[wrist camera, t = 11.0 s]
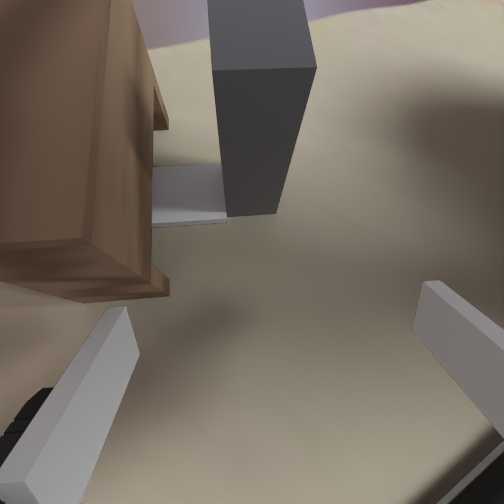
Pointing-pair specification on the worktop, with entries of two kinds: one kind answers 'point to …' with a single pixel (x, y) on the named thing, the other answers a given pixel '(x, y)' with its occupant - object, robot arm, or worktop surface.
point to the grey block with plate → (245, 115)
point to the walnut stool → (77, 150)
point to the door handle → (481, 482)
